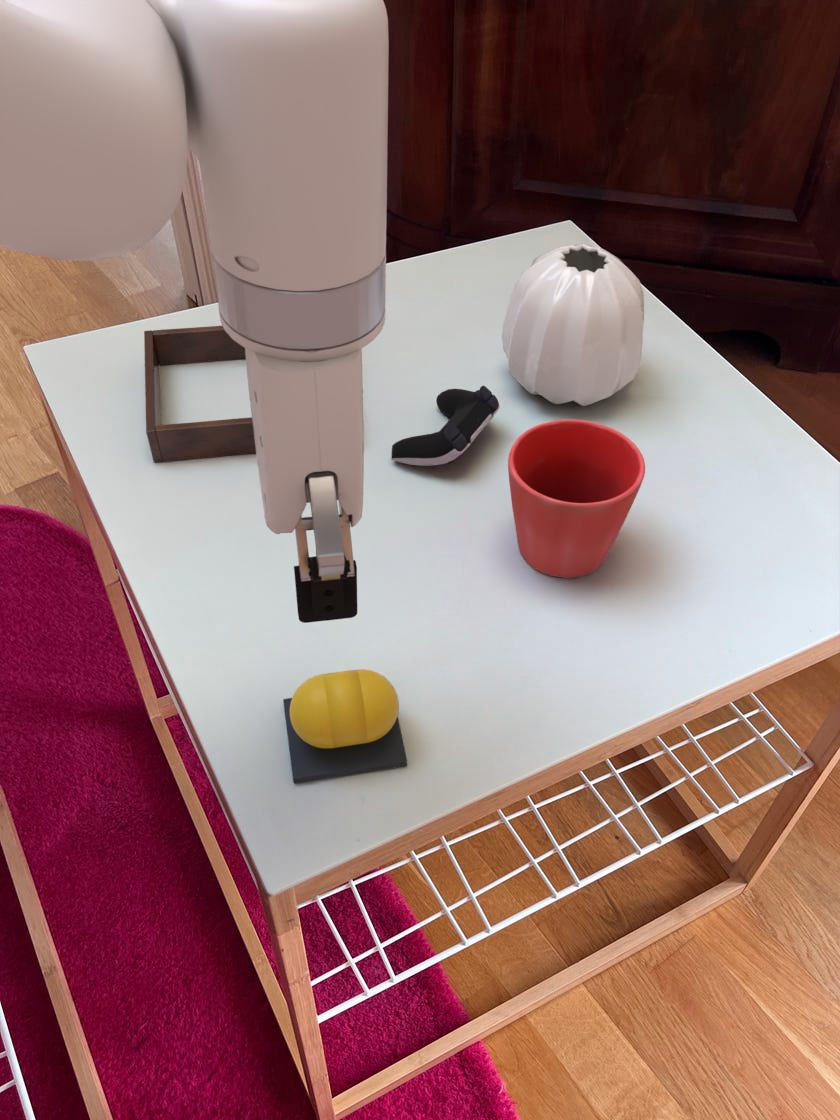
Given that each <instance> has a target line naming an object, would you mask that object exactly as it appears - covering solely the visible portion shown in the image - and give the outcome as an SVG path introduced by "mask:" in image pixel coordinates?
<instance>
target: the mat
mask: <svg viewBox="0 0 840 1120" xmlns="http://www.w3.org/2000/svg"><path fill="white" fill-rule="evenodd" d="M292 698H293V697H289V698H283V700H282V702H283V709H284V717H285V725H286V734H287V742H288V750H289V758H290V767H291V774H292V783H293V784H300V783H306V782H307V783H308V782H312V781H319V780H326V779H331V778H338V777H344V776H351V775H358V774H363V773H371V772H376V771H382V770H389V769H395V768H400V767H407V766H408V758H407V754H406V749H405V745H404V739H403V735H402V731H401V730H402V729H401V725H400V721H399V715H398V716H397V719H396V721H395V723H394V725H393V726H392V728H391V729H390V730H389V731H388V733H387V734H385V735H384V736H383V737H381V738H380V739H378V740H375V741H373V742H369V743H363V744H357V745H350V746H343V747H337V748H326V749H325V748H318V747H315V746H312V745H310V744H308V743H307V742H305V741H304V740H303V739H301V738H300V737H299V736H298V734H297V733H296V732H295V730H294V728H293V726H292V723H291V719H290V704H291V700H292Z"/></svg>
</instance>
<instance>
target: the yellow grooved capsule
mask: <svg viewBox="0 0 840 1120" xmlns="http://www.w3.org/2000/svg"><path fill="white" fill-rule="evenodd" d="M291 698H292V700H291V704H290V719H291V723H292V726H293V728H294V730H295V732H296V733H297V734H298V736H299V737H300V738H301V739H303V740H304V741H305V742H307V743H308V744H310V745H312V746H315V747H318V748H325V749H326V748H337V747H343V746H350V745H357V744H363V743H369V742H373V741H375V740H378V739H380V738H381V737H383V736H384V735H385V734H387V733H388V731H389V730H390V729H391V728H392V726H393V725H394V723H395V721H396V719H397V716H398V717H399V711H400V710H399V709H400V703H399V697H398V693H397V691H396V689H395V687H394V686H393V684H392V683H391V681H390V680H389V679H387V677H385V675H382V674H381V673H379V672H376V671H374V670H371V669H364V668H363V669H359V668H358V669H350V670H342V671H337V672H329V673H322V674H317V675H313V676H312V677H310V678H308V679H307V680H305V681H304V682H302V683H301V684H300V685H299V686H298V688H296V690H295V692H294V693H293V695H292V697H291Z"/></svg>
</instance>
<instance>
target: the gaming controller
mask: <svg viewBox="0 0 840 1120" xmlns="http://www.w3.org/2000/svg"><path fill="white" fill-rule="evenodd" d="M436 405H437V409H438V410H439V411H440V412H441V413H442V414H444V415H445V416H448V417H450V418H449V420H448V421H447V422H446V423H445V424H444V425H443V427H441V429H440V430H439V431H436V432H433V433H427V434H422V435H415V436H409V437H406V438H403V439H399V440H398V441H395V442H394V444H392V445H391V461H395V462H397V463H401V464H406V465H411V466H423V467H425V466H440V465H445V464H447V465H450V464H452V463H454V461H455V460H456V459H458V458H460V457H461V456H462V455H463V453H464V452H465V451H466V450H467V449H469V447H470V445H471V444H472V443H473V442H474V441H475V440H476V438H477V437H478V436H479V434H481V432H482V431H483V430H484V428H485V427H486V426H487V425H488V424H489V423H490V421H491V420H492V419H493V418H494V417H495V416H496V415H497V413H498V412H499V410H500V409H501V407H500V403H499V400H498V398H497V397H496V395H495V394H493V392H492V391H491V390H490V389H489V388H488V387H487V386H485V385H481V386H480V387H479V389H478V390H475V391H473V390H467V389H461V388H449V389H446V390H443V391H442V392H440V393H439V394H438V395H437V396H436Z"/></svg>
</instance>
